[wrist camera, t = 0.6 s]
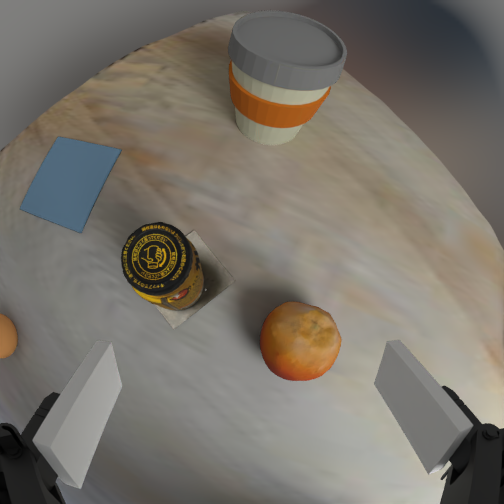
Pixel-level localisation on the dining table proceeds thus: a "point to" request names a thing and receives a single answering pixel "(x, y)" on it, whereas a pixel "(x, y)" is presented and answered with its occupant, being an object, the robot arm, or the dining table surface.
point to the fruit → (299, 341)
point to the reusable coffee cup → (281, 72)
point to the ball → (7, 337)
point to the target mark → (69, 182)
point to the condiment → (172, 270)
